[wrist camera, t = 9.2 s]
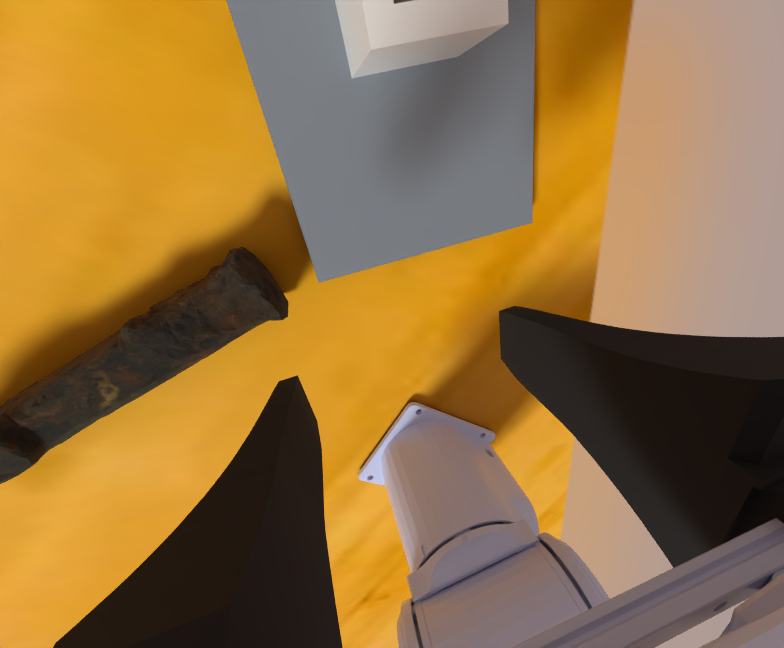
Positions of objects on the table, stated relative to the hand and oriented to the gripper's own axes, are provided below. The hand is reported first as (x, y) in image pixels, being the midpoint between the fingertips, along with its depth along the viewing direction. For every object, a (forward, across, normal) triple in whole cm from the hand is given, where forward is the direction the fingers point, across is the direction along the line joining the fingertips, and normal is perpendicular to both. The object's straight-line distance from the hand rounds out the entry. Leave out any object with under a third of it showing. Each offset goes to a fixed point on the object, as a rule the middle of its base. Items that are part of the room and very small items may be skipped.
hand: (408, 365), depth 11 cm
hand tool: (+10, +13, +1) cm, 17 cm away
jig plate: (+9, -4, -8) cm, 13 cm away
